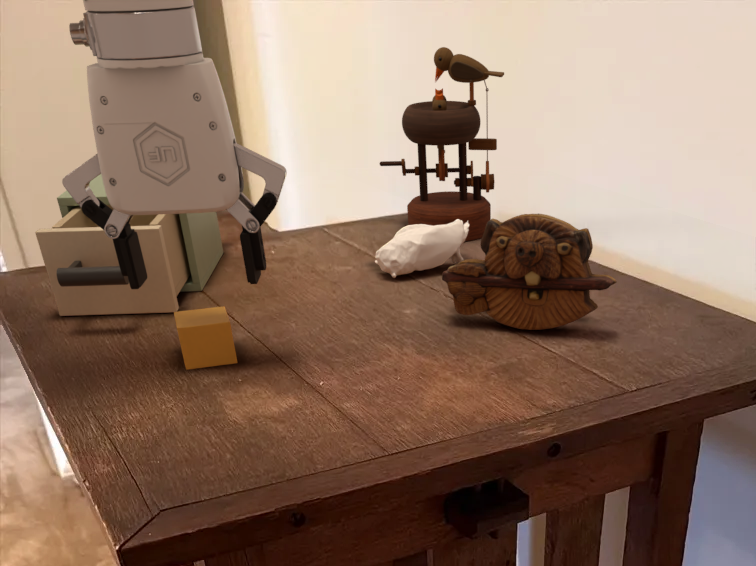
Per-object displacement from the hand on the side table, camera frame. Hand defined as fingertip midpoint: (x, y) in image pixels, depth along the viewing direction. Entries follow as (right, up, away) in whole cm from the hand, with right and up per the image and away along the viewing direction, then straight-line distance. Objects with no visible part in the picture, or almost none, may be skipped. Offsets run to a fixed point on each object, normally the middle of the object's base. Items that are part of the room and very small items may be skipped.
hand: (197, 281), depth 77 cm
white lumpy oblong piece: (+17, +11, +26) cm, 33 cm away
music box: (+19, +22, +39) cm, 49 cm away
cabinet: (-13, +12, +27) cm, 32 cm away
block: (0, -6, +5) cm, 7 cm away
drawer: (-12, +5, +17) cm, 21 cm away
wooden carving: (+28, 0, +11) cm, 30 cm away
